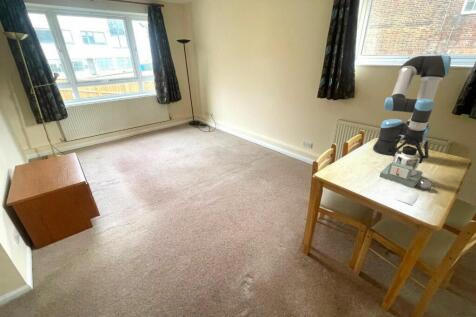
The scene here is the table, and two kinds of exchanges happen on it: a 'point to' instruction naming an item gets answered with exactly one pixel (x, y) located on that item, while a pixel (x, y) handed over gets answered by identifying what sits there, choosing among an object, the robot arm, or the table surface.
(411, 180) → the scale
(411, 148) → the container
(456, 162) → the table surface
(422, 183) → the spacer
